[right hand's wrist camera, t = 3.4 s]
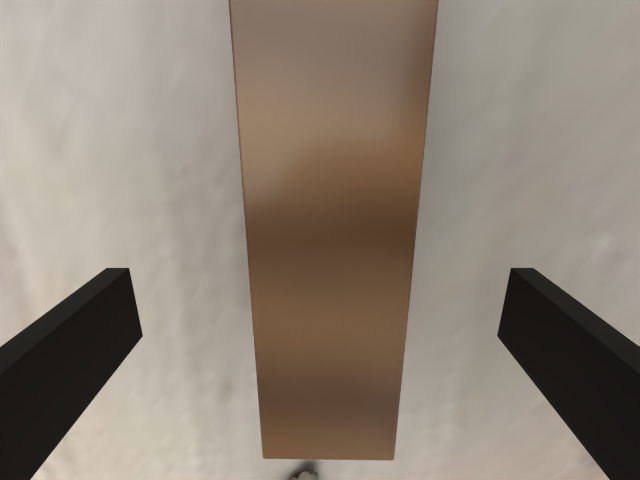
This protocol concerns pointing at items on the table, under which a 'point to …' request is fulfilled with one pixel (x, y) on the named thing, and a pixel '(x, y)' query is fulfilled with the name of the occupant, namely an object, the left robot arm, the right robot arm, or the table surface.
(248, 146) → the post
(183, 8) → the table surface
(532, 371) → the right robot arm
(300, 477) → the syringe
